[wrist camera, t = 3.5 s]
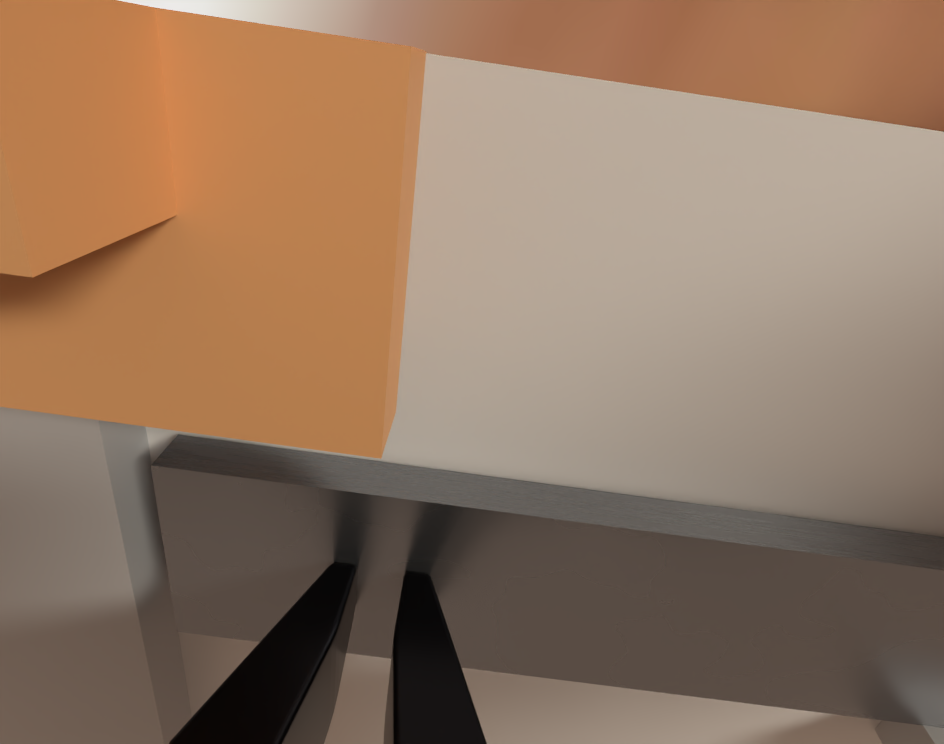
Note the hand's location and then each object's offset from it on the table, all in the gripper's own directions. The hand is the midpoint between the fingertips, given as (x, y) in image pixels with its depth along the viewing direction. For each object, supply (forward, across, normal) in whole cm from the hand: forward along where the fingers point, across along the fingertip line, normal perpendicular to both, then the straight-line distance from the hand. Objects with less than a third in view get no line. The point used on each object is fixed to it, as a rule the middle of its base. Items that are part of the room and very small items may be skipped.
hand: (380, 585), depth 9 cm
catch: (0, +4, -6) cm, 7 cm away
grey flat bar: (+1, -4, 0) cm, 4 cm away
